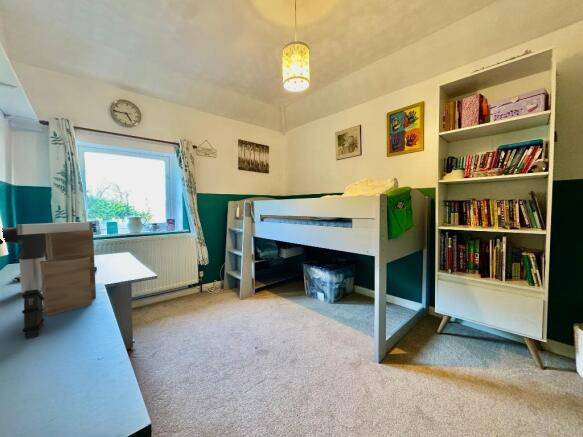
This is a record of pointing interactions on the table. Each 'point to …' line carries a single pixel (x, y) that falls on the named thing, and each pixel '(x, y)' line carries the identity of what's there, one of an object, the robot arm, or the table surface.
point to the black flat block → (32, 313)
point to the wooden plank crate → (68, 271)
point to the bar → (53, 227)
